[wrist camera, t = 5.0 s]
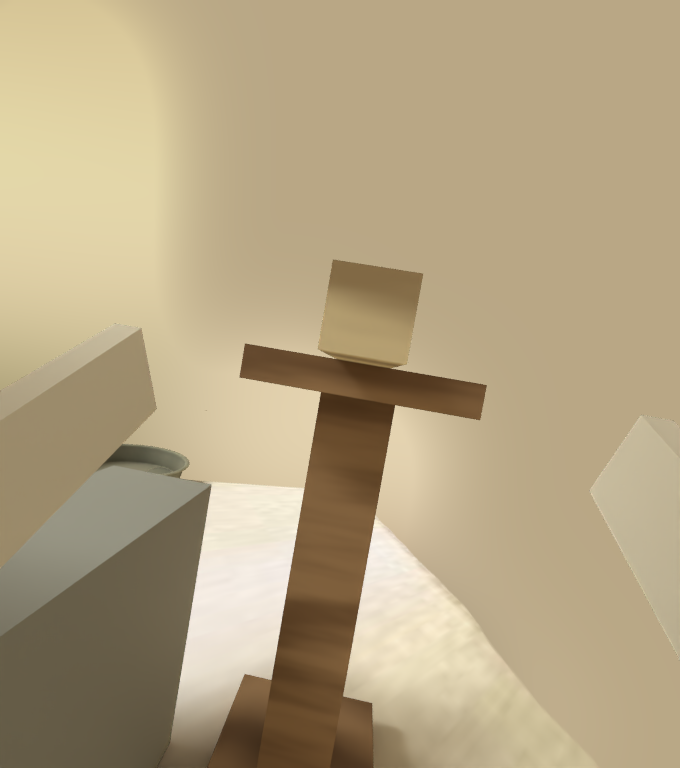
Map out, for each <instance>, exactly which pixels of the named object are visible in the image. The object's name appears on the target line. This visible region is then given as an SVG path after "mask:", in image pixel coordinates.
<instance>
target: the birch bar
mask: <svg viewBox="0 0 680 768" xmlns="http://www.w3.org/2000/svg"><path fill="white" fill-rule="evenodd" d="M422 278H423V274H422V273H415V272H409V271H403V270H396V269H389V268H383V267H377V266H371V265H364V264H358V263H351V262H345V261H338V260H333V263H332V269H331V275H330V280H329V286H328V292H327V298H326V304H325V310H324V316H323V322H322V327H321V333H320V339H319V345H318V349H319V350H321V351H323V352H324V353H326V354H328V355H330V356H332V357H334V358H336V359H338V360H343V361H349V362H355V363H361V364H367V365H372V366H378V367H384V368H393V367H398V366H401V365H406V364H407V361H408V355H409V349H410V344H411V338H412V333H413V328H414V322H415V316H416V311H417V305H418V299H419V294H420V289H421V283H422Z"/></svg>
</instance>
